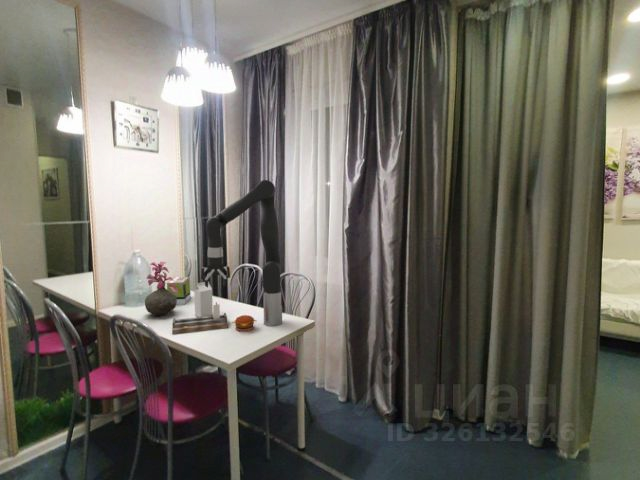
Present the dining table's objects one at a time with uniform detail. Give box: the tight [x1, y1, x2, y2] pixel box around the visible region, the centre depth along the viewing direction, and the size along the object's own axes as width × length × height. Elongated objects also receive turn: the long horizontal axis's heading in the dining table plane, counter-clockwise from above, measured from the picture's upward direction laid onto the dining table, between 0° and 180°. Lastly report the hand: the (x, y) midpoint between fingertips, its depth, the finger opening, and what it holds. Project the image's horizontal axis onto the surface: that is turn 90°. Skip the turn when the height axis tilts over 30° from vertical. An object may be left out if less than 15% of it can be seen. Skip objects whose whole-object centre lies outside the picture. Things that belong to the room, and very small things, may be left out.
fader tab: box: [212, 301, 221, 319], centre depth 173 cm, size 3×4×9 cm, turn 21°
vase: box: [144, 261, 178, 317], centre depth 186 cm, size 17×17×30 cm
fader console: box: [171, 312, 229, 335], centre depth 170 cm, size 26×14×4 cm, turn 111°
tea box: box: [166, 276, 192, 306], centre depth 211 cm, size 15×10×15 cm
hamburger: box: [232, 314, 257, 333], centre depth 167 cm, size 9×10×7 cm
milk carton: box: [193, 280, 213, 317], centre depth 186 cm, size 7×7×19 cm
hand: (215, 286), depth 171 cm, fingers open, 8 cm apart
